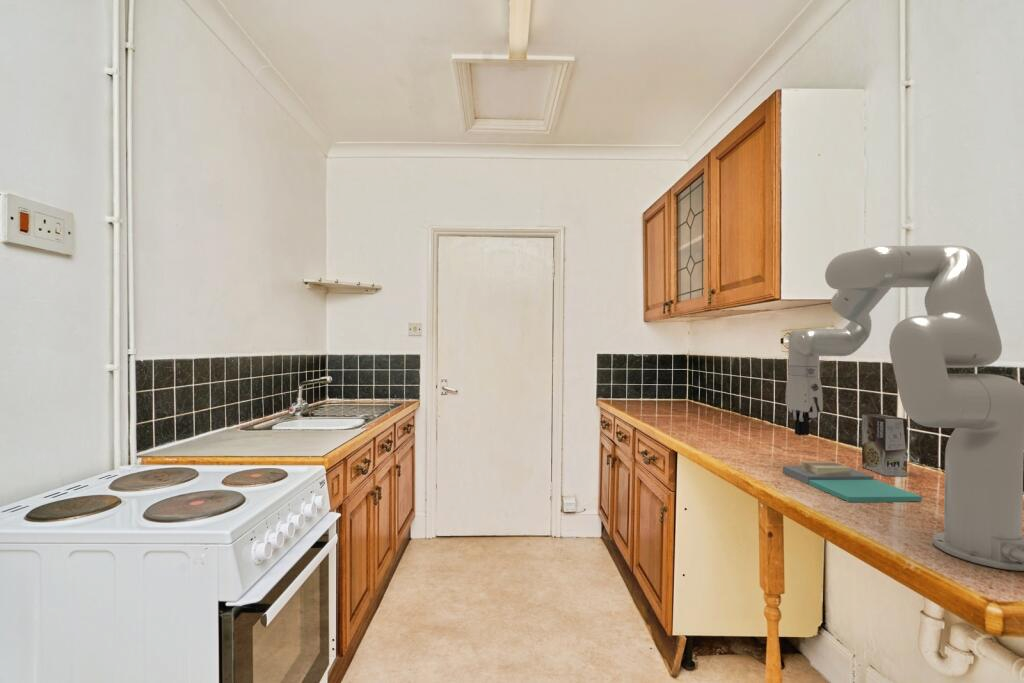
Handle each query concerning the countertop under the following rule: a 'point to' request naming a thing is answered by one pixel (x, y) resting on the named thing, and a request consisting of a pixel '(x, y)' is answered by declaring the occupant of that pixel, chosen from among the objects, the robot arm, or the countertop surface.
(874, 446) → the coffee box
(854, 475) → the board
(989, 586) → the countertop surface
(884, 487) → the mat
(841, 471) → the tile
